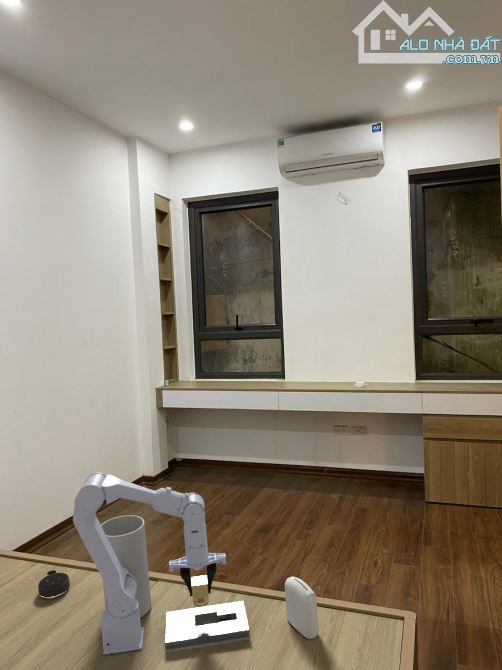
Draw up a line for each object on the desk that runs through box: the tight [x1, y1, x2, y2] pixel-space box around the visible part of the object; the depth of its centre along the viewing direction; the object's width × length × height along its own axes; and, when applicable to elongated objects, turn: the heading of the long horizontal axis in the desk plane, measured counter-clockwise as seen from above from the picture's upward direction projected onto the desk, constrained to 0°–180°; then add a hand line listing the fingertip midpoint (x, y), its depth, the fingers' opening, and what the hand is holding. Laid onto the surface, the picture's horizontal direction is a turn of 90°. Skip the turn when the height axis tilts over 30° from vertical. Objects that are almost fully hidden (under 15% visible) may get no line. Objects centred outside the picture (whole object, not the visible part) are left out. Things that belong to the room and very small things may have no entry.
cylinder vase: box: [100, 514, 152, 619], centre depth 138 cm, size 12×12×25 cm
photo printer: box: [284, 576, 319, 640], centre depth 127 cm, size 10×4×12 cm, turn 29°
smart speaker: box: [37, 572, 71, 597], centre depth 150 cm, size 9×9×4 cm
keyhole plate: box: [164, 600, 251, 654], centre depth 128 cm, size 21×12×3 cm, turn 98°
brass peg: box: [191, 574, 210, 608], centre depth 127 cm, size 4×4×6 cm
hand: (200, 592), depth 127 cm, fingers closed on brass peg, 4 cm apart
